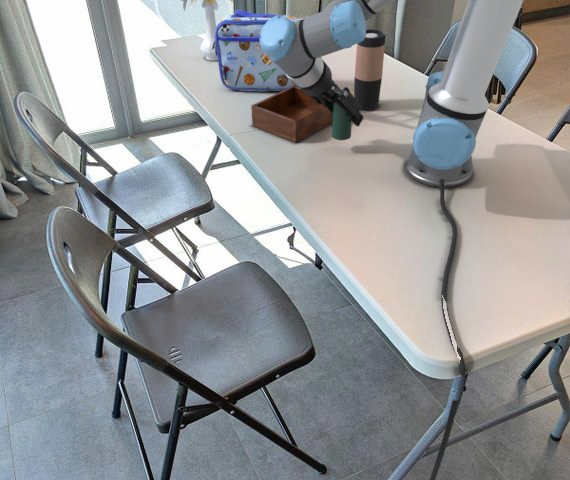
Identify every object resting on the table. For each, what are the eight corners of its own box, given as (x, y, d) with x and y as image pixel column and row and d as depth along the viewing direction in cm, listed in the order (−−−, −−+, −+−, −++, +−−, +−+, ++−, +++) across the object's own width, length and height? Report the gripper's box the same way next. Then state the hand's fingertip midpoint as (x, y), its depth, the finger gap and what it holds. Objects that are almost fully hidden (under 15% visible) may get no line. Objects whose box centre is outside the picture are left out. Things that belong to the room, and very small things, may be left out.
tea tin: (343, 142, 134) (345, 98, 126) (327, 136, 136) (328, 93, 129) (355, 135, 136) (357, 92, 129) (339, 129, 139) (341, 87, 132)
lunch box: (214, 93, 168) (205, 16, 153) (220, 80, 175) (213, 6, 161) (302, 94, 165) (303, 17, 150) (305, 81, 173) (305, 6, 158)
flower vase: (184, 55, 193) (172, -24, 176) (234, 49, 197) (228, -29, 180) (190, 68, 184) (179, -14, 167) (243, 61, 188) (237, -20, 171)
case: (295, 143, 142) (295, 121, 138) (252, 126, 150) (251, 105, 146) (337, 119, 152) (338, 99, 148) (294, 105, 160) (294, 85, 156)
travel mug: (348, 108, 157) (352, 35, 144) (358, 98, 162) (363, 27, 149) (373, 113, 155) (380, 39, 141) (382, 103, 160) (390, 31, 146)
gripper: (350, 64, 111) (387, 114, 131) (285, 47, 120) (329, 96, 140) (334, 98, 112) (373, 142, 132) (270, 78, 121) (316, 122, 141)
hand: (350, 118), depth 136 cm, fingers closed on tea tin, 5 cm apart
